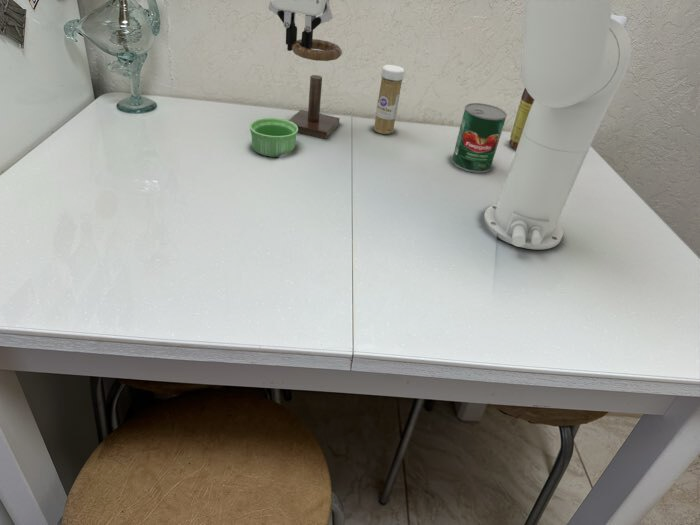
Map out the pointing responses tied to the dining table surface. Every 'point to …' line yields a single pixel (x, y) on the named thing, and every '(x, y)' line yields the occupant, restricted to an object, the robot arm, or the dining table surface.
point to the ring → (328, 54)
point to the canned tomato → (478, 137)
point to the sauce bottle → (521, 118)
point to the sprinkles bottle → (388, 98)
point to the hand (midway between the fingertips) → (298, 49)
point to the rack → (315, 114)
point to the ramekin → (273, 136)
